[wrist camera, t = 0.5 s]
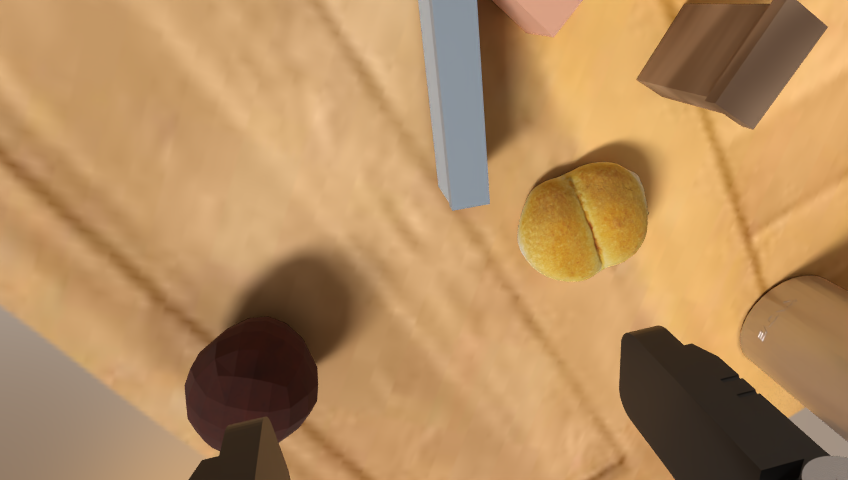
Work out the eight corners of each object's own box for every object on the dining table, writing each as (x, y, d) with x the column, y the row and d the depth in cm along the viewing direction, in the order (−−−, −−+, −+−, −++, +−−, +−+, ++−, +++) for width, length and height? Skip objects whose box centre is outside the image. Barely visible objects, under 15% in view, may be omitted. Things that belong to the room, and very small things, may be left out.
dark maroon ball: (190, 395, 36) (161, 487, 29) (208, 282, 33) (180, 356, 26) (305, 405, 39) (302, 493, 32) (332, 301, 35) (336, 374, 28)
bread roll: (498, 196, 35) (519, 218, 31) (619, 141, 34) (653, 157, 31) (531, 290, 38) (553, 319, 35) (640, 241, 38) (673, 265, 35)
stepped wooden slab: (717, 21, 32) (827, 26, 25) (663, 103, 34) (753, 129, 27) (684, -4, 31) (790, -6, 24) (630, 81, 33) (715, 103, 26)
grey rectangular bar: (407, -70, 27) (423, -83, 23) (448, -75, 27) (471, -88, 23) (436, 185, 33) (452, 210, 29) (469, 180, 33) (489, 203, 29)
